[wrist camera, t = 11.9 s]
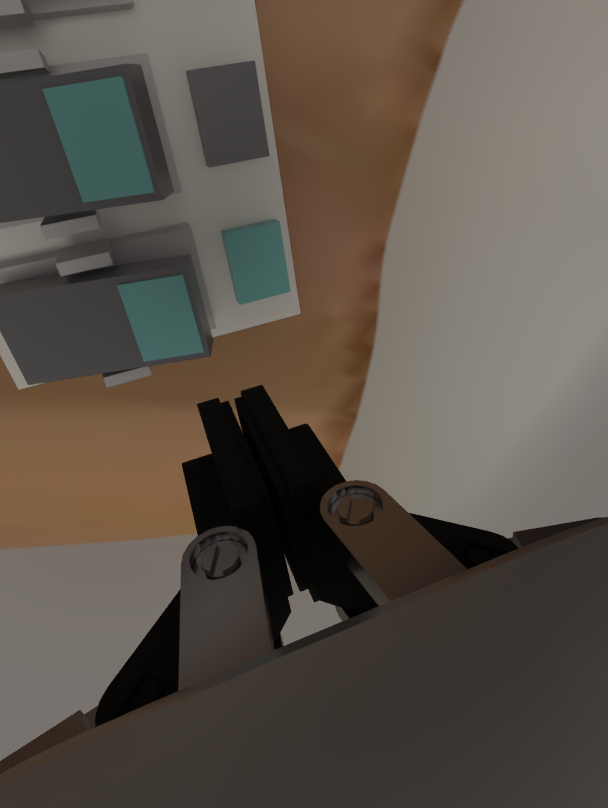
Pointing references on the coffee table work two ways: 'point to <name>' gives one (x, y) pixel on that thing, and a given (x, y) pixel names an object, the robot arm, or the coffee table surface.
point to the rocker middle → (79, 144)
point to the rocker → (105, 319)
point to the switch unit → (166, 154)
